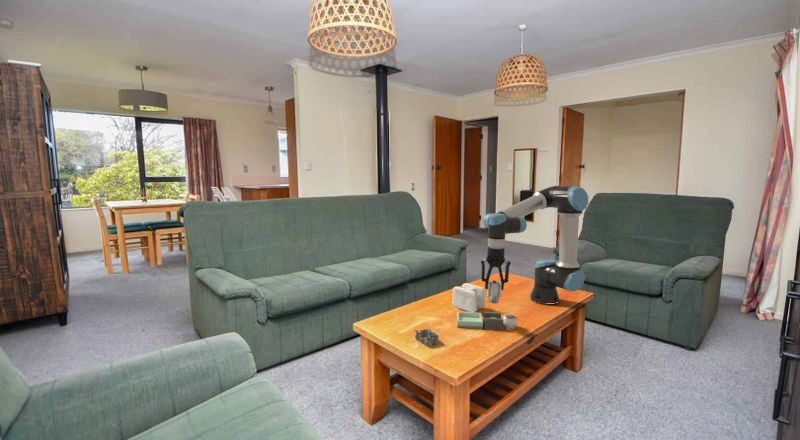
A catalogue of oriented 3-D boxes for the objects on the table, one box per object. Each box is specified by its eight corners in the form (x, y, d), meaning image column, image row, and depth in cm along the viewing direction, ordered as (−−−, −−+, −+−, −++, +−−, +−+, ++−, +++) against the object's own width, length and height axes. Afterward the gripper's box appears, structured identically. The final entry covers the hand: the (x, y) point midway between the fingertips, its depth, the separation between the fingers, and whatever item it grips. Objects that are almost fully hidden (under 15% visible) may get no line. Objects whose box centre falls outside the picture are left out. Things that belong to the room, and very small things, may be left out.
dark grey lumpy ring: (412, 337, 160) (412, 329, 160) (427, 334, 164) (427, 325, 163) (426, 348, 151) (426, 338, 150) (441, 343, 155) (441, 334, 154)
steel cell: (498, 300, 174) (499, 279, 172) (499, 303, 169) (500, 282, 168) (488, 299, 174) (489, 279, 173) (489, 303, 170) (489, 282, 169)
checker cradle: (500, 321, 177) (500, 311, 177) (503, 329, 168) (503, 319, 168) (483, 320, 178) (483, 310, 178) (485, 328, 169) (485, 318, 169)
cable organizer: (486, 310, 192) (487, 288, 191) (474, 315, 185) (474, 292, 184) (463, 302, 203) (464, 282, 202) (451, 307, 196) (451, 286, 195)
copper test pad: (496, 318, 175) (496, 316, 174) (497, 322, 171) (497, 319, 171) (488, 318, 175) (489, 316, 175) (489, 321, 171) (489, 319, 171)
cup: (515, 324, 174) (515, 314, 173) (517, 330, 168) (518, 319, 167) (502, 323, 175) (502, 313, 174) (504, 329, 169) (504, 318, 168)
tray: (480, 318, 181) (480, 312, 180) (482, 328, 169) (482, 322, 169) (456, 317, 182) (457, 311, 182) (457, 326, 171) (457, 320, 171)
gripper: (514, 246, 171) (512, 294, 174) (476, 244, 173) (474, 292, 176) (517, 249, 164) (514, 300, 166) (477, 248, 166) (475, 297, 169)
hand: (493, 296), depth 171 cm, fingers closed on steel cell, 4 cm apart
